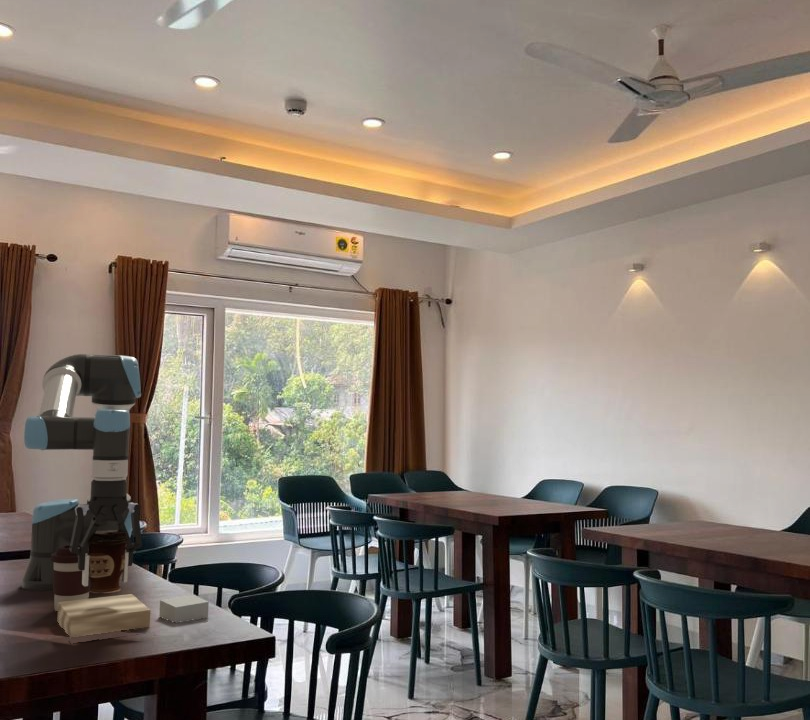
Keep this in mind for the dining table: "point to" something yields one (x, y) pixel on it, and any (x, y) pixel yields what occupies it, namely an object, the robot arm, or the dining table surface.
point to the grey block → (183, 608)
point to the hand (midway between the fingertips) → (104, 582)
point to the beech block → (102, 615)
